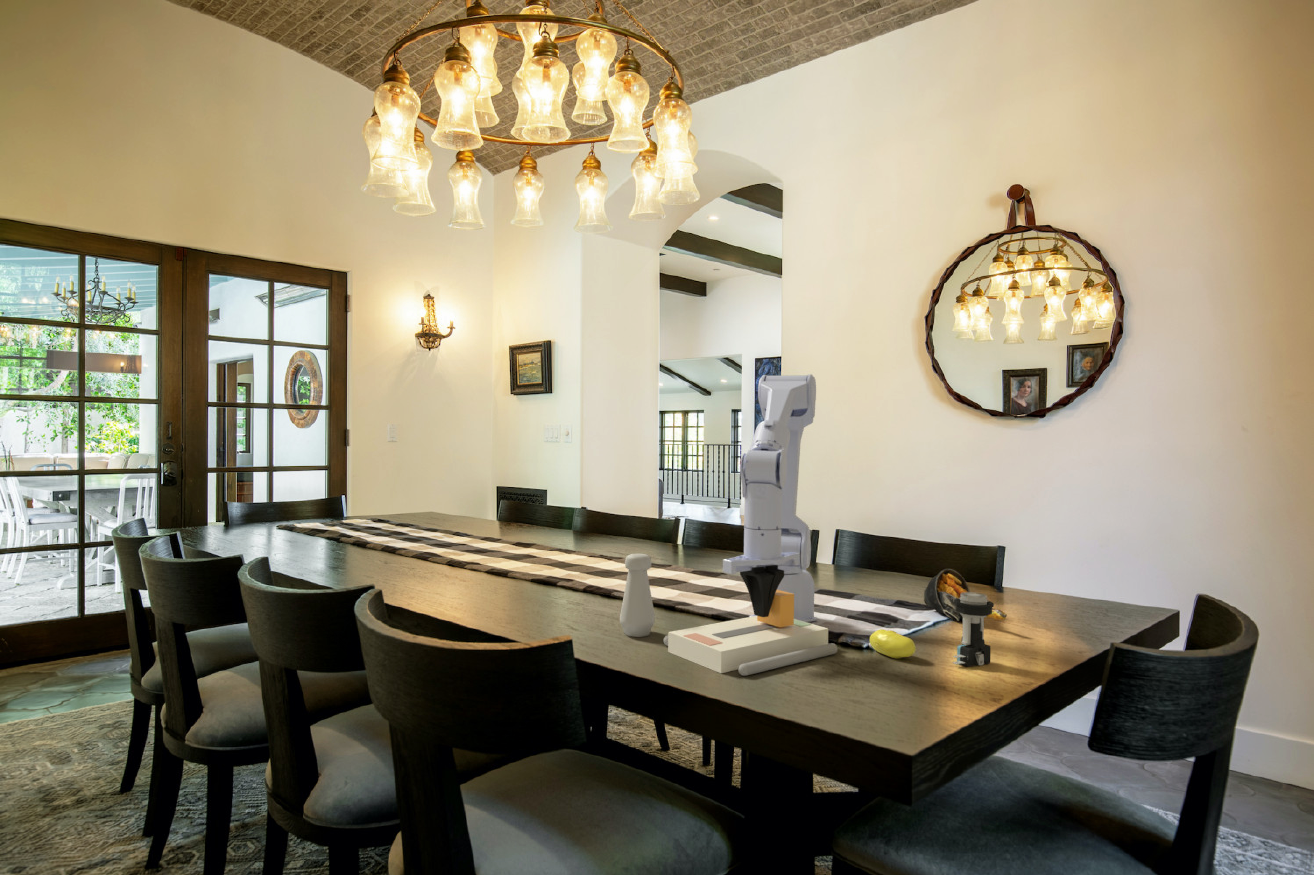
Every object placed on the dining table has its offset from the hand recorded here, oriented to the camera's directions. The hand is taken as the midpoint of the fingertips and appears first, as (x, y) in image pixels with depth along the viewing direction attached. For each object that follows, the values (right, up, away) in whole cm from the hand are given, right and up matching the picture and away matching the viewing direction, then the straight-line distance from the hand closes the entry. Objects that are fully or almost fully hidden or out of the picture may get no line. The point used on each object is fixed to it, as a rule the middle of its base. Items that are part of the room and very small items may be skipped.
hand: (761, 615), depth 115 cm
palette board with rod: (-2, -5, -1) cm, 6 cm away
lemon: (+19, -6, -3) cm, 20 cm away
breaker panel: (-2, -5, -1) cm, 6 cm away
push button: (+29, -6, -7) cm, 31 cm away
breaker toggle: (+2, -1, +2) cm, 3 cm away
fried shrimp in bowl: (+39, -6, +19) cm, 44 cm away
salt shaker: (-19, -5, +7) cm, 21 cm away
